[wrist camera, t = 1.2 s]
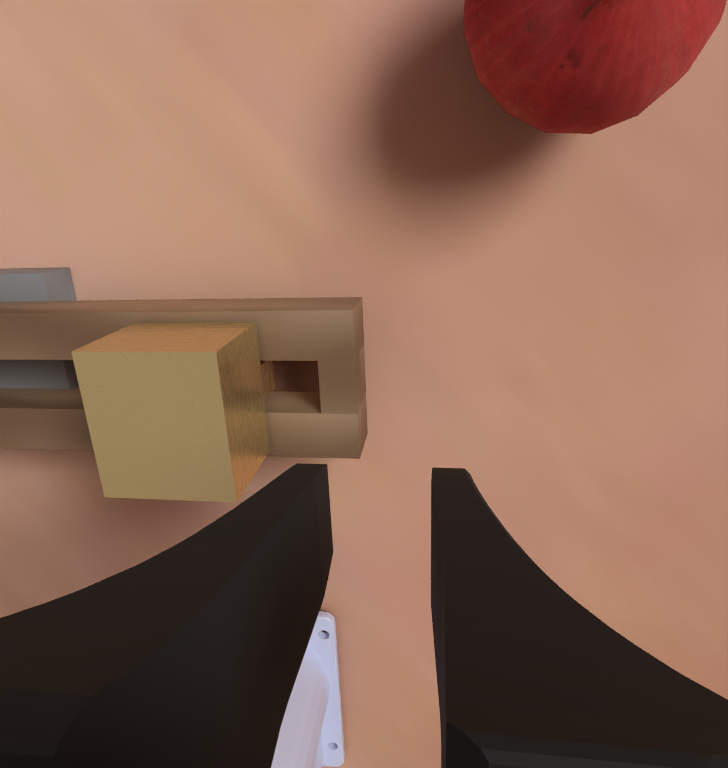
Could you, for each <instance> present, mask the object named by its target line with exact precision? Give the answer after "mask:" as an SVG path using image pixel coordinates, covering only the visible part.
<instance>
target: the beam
mask: <svg viewBox="0 0 728 768" xmlns="http://www.w3.org/2000/svg"><path fill="white" fill-rule="evenodd" d="M193 322H256V326H257V336H258V345H259V354H260V361H318V374H319V388H320V392H306V391H271V393H270V394H269V395H268V396H267V397H266V399H265V400H264V401H265V410H266V420H267V429H268V438H269V448H270V451H269V453H268V454H267V456H285V457H320V458H355V459H360V456H361V453H362V450H363V446H364V443H365V440H366V436H367V408H366V383H365V357H364V332H363V307H362V297H345V298H265V299H186V300H106V301H76V296H75V291H74V287H73V282H72V278H71V273H70V268H22V269H0V448H5V449H40V450H75V451H94V449H93V445H92V441H91V436H90V432H89V428H88V423H87V419H86V414H85V410H84V406H83V401H82V397H81V392H80V388H79V384H78V379H77V375H76V370H75V366H74V362H73V357H72V353H71V352H72V351H74V350H76V349H78V348H81V347H83V346H85V345H87V344H89V343H92V342H94V341H96V340H98V339H100V338H103V337H105V336H107V335H109V334H111V333H113V332H116V331H118V330H120V329H122V328H124V327H127V326H129V325H131V324H133V323H193Z"/></svg>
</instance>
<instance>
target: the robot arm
mask: <svg viewBox="0 0 728 768" xmlns="http://www.w3.org/2000/svg"><path fill="white" fill-rule="evenodd" d="M332 555H333V542H332V528H331V513H330V499H329V484H328V470H327V464H296V465H294V466H292V467H291V468H289V469H288V470H287V471H285V472H284V473H282V474H281V475H280V476H278V477H277V478H275V479H274V480H273V481H271V482H270V483H269V484H267V485H266V486H265V487H263V488H262V489H261V490H259V491H258V492H256V493H255V494H254V495H252V496H251V497H249V498H248V499H247V500H245V501H244V502H243V503H241V504H240V505H238V506H237V507H236V508H234V509H233V510H231V511H230V512H228V513H226V514H225V515H223V516H222V517H220V518H219V519H217V520H216V521H214V522H213V523H211V524H209V525H208V526H206V527H205V528H203V529H202V530H200V531H199V532H197V533H196V534H194V535H192V536H191V537H189V538H187V539H185V540H184V541H182V542H180V543H178V544H177V545H175V546H173V547H171V548H169V549H167V550H166V551H164V552H162V553H160V554H158V555H156V556H154V557H152V558H150V559H148V560H146V561H144V562H142V563H140V564H138V565H136V566H134V567H132V568H129V569H127V570H125V571H123V572H120V573H118V574H116V575H113V576H111V577H109V578H107V579H104V580H102V581H100V582H97V583H95V584H93V585H91V586H88V587H86V588H84V589H81V590H79V591H76V592H74V593H71V594H68V595H66V596H63V597H60V598H58V599H55V600H52V601H50V602H47V603H44V604H41V605H38V606H35V607H32V608H29V609H26V610H24V611H21V612H18V613H15V614H12V615H9V616H5V617H2V618H0V768H323V766H332V767H338V766H340V765H342V764H343V762H344V756H345V751H344V737H343V723H342V709H341V695H340V681H339V666H338V652H337V638H336V624H335V619H334V617H333V616H332V615H331V614H330V613H328V612H322V611H320V608H321V605H322V602H323V598H324V595H325V590H326V585H327V581H328V576H329V570H330V565H331V560H332ZM431 610H432V622H433V634H434V647H435V659H436V671H437V683H438V695H439V707H440V722H441V768H728V700H727V699H725V698H724V697H722V696H720V695H718V694H716V693H714V692H713V691H711V690H709V689H707V688H705V687H703V686H702V685H700V684H698V683H696V682H694V681H693V680H691V679H689V678H687V677H685V676H684V675H682V674H680V673H679V672H677V671H675V670H674V669H672V668H670V667H669V666H667V665H666V664H664V663H663V662H661V661H659V660H658V659H656V658H655V657H653V656H652V655H650V654H649V653H647V652H645V651H644V650H642V649H641V648H639V647H638V646H636V645H635V644H633V643H632V642H630V641H629V640H627V639H626V638H624V637H623V636H622V635H620V634H619V633H617V632H616V631H614V630H613V629H612V628H610V627H609V626H607V625H606V624H605V623H604V622H602V621H601V620H600V619H598V618H597V617H596V616H594V615H593V614H592V613H591V612H589V611H588V610H587V609H585V608H584V607H583V606H581V605H580V604H579V603H578V602H576V601H575V600H574V599H573V598H572V597H571V596H569V595H568V594H567V593H566V592H565V591H563V590H562V589H561V588H560V587H559V586H558V585H557V584H556V583H555V582H554V581H553V580H551V579H550V578H549V577H548V576H547V575H546V574H545V573H544V572H543V571H542V570H541V569H540V568H539V567H538V566H537V565H536V564H535V563H534V562H533V560H532V559H531V558H530V557H529V556H528V555H527V554H526V553H525V552H524V550H523V549H522V548H521V547H520V546H519V545H518V544H517V542H516V541H515V540H514V539H513V538H512V536H511V535H510V534H509V533H508V532H507V530H506V529H505V528H504V526H503V525H502V524H501V522H500V521H499V520H498V518H497V517H496V516H495V514H494V513H493V512H492V510H491V509H490V507H489V506H488V504H487V503H486V501H485V500H484V498H483V497H482V495H481V493H480V492H479V490H478V488H477V487H476V485H475V483H474V481H473V479H472V477H471V475H470V474H469V473H468V472H467V470H466V469H462V468H432V481H431ZM321 630H324V631H327V632H328V633H324V632H322V631H321Z"/></svg>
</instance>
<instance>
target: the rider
mask: <svg viewBox="0 0 728 768" xmlns="http://www.w3.org/2000/svg"><path fill="white" fill-rule="evenodd" d="M71 353H72V357H73V362H74V366H75V370H76V375H77V379H78V384H79V388H80V392H81V397H82V401H83V406H84V410H85V414H86V419H87V423H88V428H89V432H90V436H91V441H92V445H93V449H94V454H95V458H96V463H97V467H98V471H99V476H100V480H101V485H102V489H103V493H104V497H110V498H135V499H159V500H183V501H208V502H232V503H237V501H238V499H239V498H240V496H241V495H242V493H243V492H244V490H245V489H246V487H247V485H248V484H249V482H250V481H251V479H252V478H253V476H254V475H255V473H256V472H257V470H258V468H259V467H260V465H261V464H262V462H263V461H264V459H265V458H266V456H267V454H268V453H269V451H270V448H269V438H268V429H267V420H266V410H265V401H264V400H265V399H266V397H267V396H268V395H269V394H270V393H271V391H272V390H273V389H274V388H275V379H274V369H273V361H260V354H259V345H258V336H257V326H256V322H193V323H133V324H131V325H129V326H127V327H124V328H122V329H120V330H118V331H116V332H113V333H111V334H109V335H107V336H105V337H103V338H100V339H98V340H96V341H94V342H92V343H89V344H87V345H85V346H83V347H81V348H78V349H76V350H74V351H72V352H71Z"/></svg>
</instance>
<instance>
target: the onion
mask: <svg viewBox="0 0 728 768" xmlns="http://www.w3.org/2000/svg"><path fill="white" fill-rule="evenodd" d="M726 1H727V0H465V6H464V35H465V39H466V42H467V45H468V48H469V51H470V55H471V58H472V61H473V64H474V67H475V71H476V74H477V77H478V80H479V81H480V82H481V83H482V84H483V85H484V87H485V88H486V89H487V90H488V91H489V93H490V94H491V95H492V96H493V97H494V99H495V100H496V101H497V102H498V103H499V104H500V106H501V107H502V108H503V109H504V110H505V112H506V113H508V114H510V115H512V116H514V117H516V118H518V119H520V120H522V121H524V122H525V123H527V124H529V125H531V126H533V127H535V128H537V129H539V130H541V131H543V132H545V133H582V134H592V133H595V132H597V131H600V130H602V129H605V128H607V127H610V126H612V125H615V124H617V123H620V122H622V121H625V120H627V119H630V118H632V117H635V116H637V115H639V114H640V113H641V112H642V111H643V110H645V109H646V108H647V107H648V106H649V105H651V104H652V103H653V102H654V101H655V100H656V99H658V98H659V97H660V96H661V95H662V94H663V93H665V92H666V91H667V90H668V89H669V88H671V87H672V86H673V85H674V84H675V83H676V82H678V81H679V80H680V79H681V78H682V77H683V76H684V75H685V73H686V72H687V71H688V70H689V69H690V67H691V66H692V64H693V62H694V61H695V59H696V58H697V56H698V55H699V53H700V52H701V50H702V49H703V47H704V45H705V44H706V42H707V41H708V39H709V38H710V36H711V35H712V33H713V32H714V30H715V28H716V27H717V25H718V24H719V22H720V20H721V17H722V14H723V12H724V8H725V4H726Z"/></svg>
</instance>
